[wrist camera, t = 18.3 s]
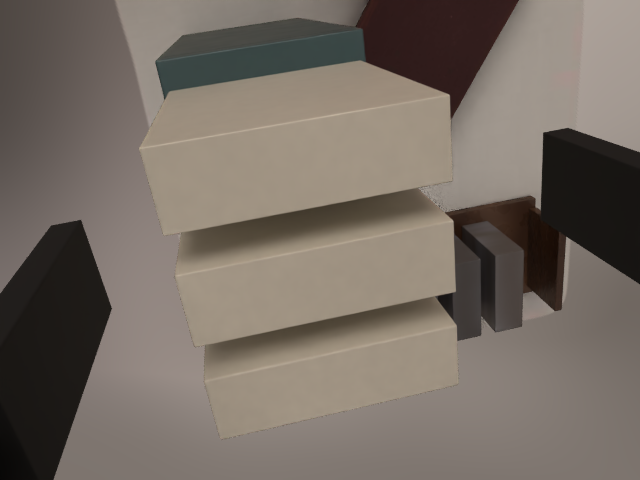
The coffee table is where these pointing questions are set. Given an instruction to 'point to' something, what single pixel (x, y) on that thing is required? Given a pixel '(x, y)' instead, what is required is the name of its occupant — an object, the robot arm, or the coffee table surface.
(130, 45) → the coffee table surface
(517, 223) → the brown rack
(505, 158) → the coffee table surface
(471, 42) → the book
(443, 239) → the teal stand with panels
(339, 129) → the beige rectangular block
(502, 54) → the coffee table surface
